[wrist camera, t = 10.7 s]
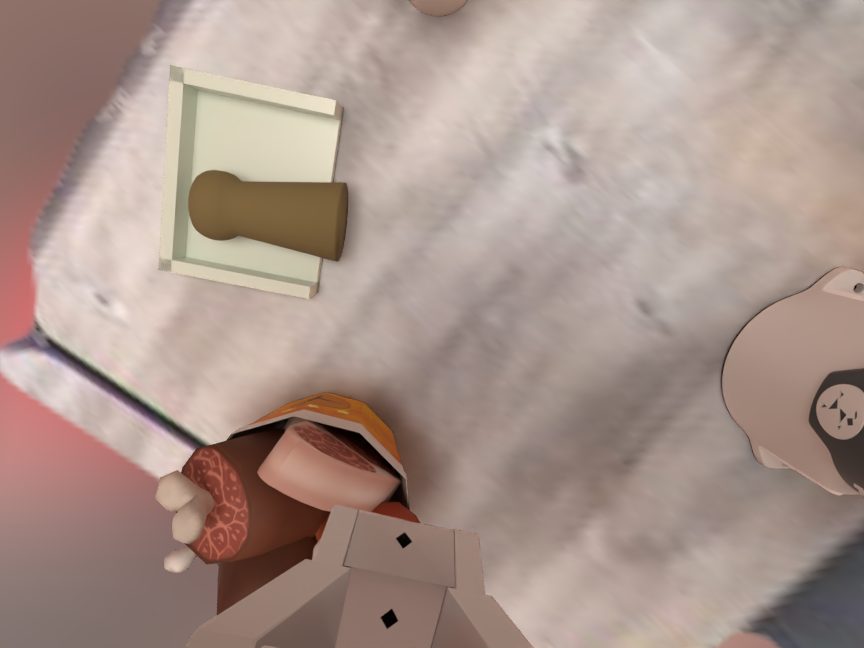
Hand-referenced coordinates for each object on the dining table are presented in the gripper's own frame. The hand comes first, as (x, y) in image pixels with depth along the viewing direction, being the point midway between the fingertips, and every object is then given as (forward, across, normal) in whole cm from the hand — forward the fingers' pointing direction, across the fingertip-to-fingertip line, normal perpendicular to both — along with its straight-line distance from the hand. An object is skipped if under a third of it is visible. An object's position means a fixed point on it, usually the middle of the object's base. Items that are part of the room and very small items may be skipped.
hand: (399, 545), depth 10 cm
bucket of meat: (+32, +6, +18) cm, 37 cm away
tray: (+32, +16, -4) cm, 36 cm away
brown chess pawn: (+29, +8, -4) cm, 31 cm away
